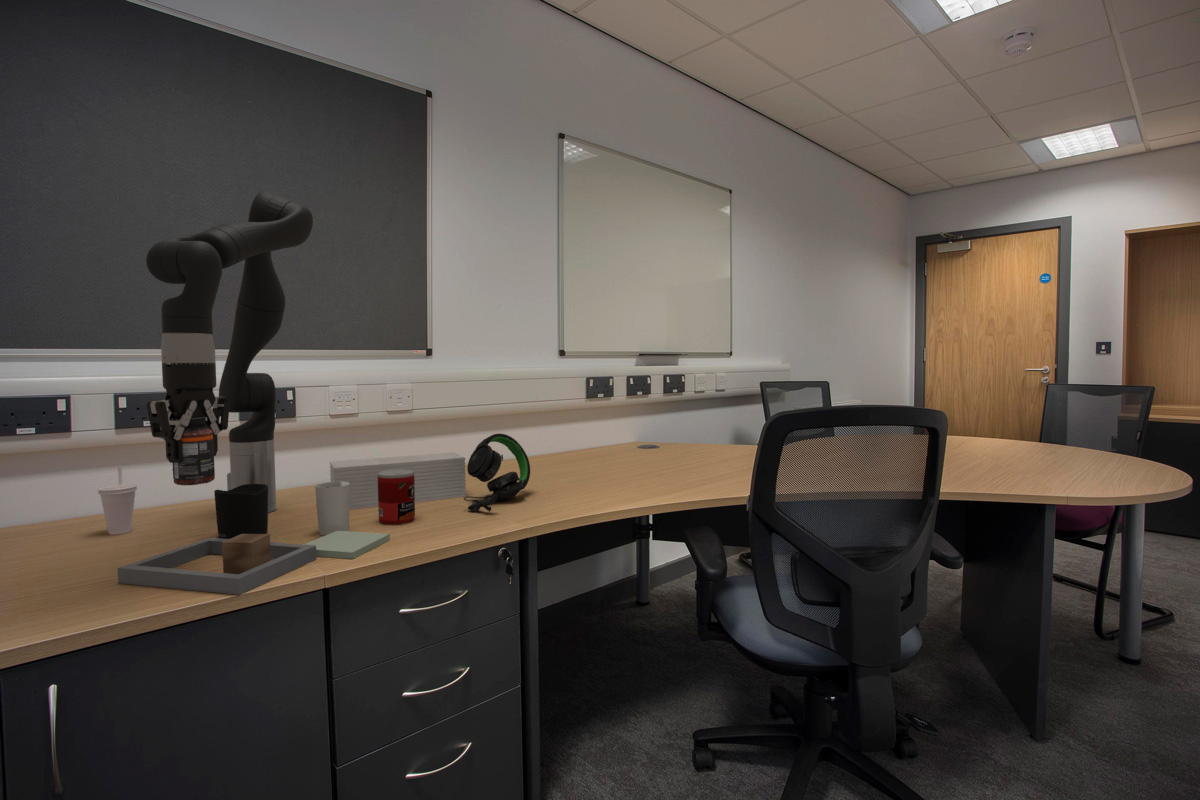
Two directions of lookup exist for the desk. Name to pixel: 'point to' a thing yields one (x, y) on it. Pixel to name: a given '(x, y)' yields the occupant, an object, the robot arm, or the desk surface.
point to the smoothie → (118, 505)
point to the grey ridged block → (431, 471)
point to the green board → (347, 543)
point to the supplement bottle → (195, 455)
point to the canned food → (396, 496)
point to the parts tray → (161, 574)
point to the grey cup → (333, 506)
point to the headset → (487, 465)
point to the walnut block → (245, 552)
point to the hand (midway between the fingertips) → (193, 458)
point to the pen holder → (242, 510)
